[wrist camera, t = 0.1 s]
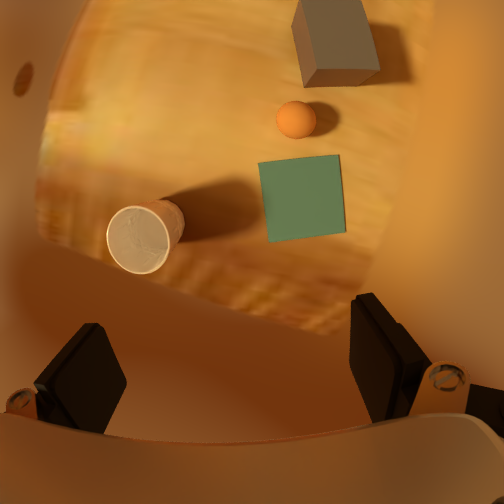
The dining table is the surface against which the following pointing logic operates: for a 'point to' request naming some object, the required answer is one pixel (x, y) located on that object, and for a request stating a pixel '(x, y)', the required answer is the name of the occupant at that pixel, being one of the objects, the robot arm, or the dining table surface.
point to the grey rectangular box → (334, 43)
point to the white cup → (145, 235)
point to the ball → (296, 120)
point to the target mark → (302, 197)
